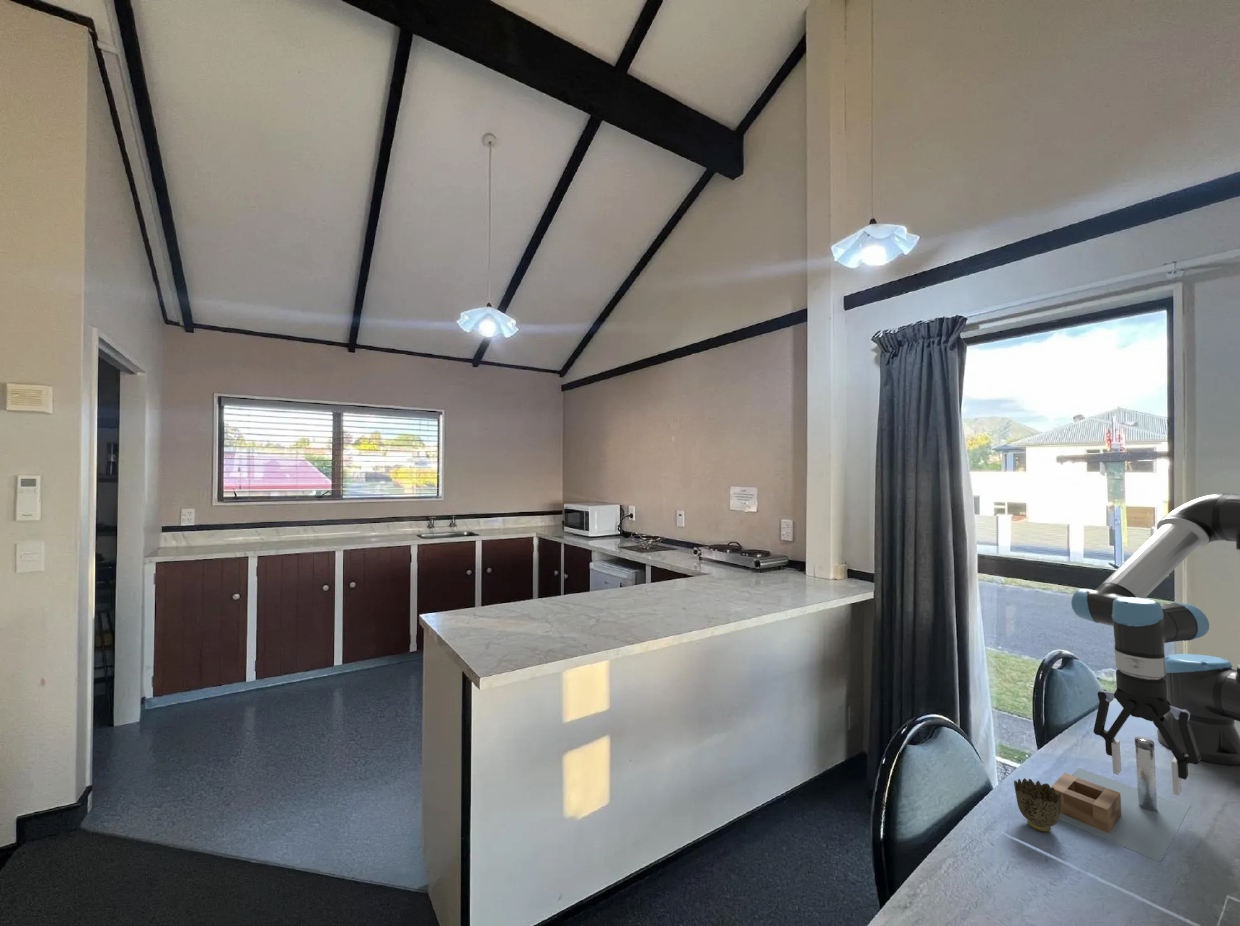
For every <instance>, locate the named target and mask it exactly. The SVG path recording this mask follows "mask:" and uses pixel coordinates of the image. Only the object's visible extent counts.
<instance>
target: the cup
mask: <svg viewBox="0 0 1240 926" xmlns="http://www.w3.org/2000/svg"><path fill="white" fill-rule="evenodd" d="M1013 785H1014V791H1015V796H1016V797H1015V798H1016V802H1017V806H1018V809H1019V811H1020V813H1021V814H1022V816H1023V818H1024V819H1026V821H1027V822H1026V823H1027V825H1028V826H1029V827H1030V828H1031V829H1032V830H1034V831H1035V832H1039V833H1041V834H1048V833H1050V832H1051V830H1052V827H1054V826H1055V825H1057V824H1058V822H1059V821H1060V820H1059V816H1060V808H1061V798H1062V796H1061V794H1060V793H1059V794H1058V795H1057V794H1056V793H1055V790H1054V788H1053V787H1052V788H1051V786H1050V784H1049V783H1046V782H1045V783H1042V784H1041V782H1040V780H1037V781H1036V782H1034V781H1033V780H1032V779H1031V778H1029V779H1026V777H1025V778H1023V779H1022V780H1021V779H1020V778H1018V780H1016V779H1015V780H1014V781H1013Z"/></svg>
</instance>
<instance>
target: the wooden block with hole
mask: <svg viewBox="0 0 1240 926" xmlns="http://www.w3.org/2000/svg"><path fill="white" fill-rule="evenodd" d="M1050 787H1051V788H1052V787H1053V788H1054V790H1055V793H1056V794H1057V795H1058V794H1059V793H1060V794H1061V796H1062V798H1061V808H1060V813H1061V814H1064V815H1066V816H1069V817H1071V818H1073V819H1076V820H1078V821H1081V822H1083V823H1085V824H1088V825H1090V826H1093V827H1095V828H1097V829H1100V830H1102V831H1105V832H1107V833H1109V832H1110V831H1111V829H1112V828H1113V826H1114V825H1115V824H1116V822H1117V821H1118V819H1119V818H1120V817H1121V796H1120V793H1119V792H1116V791H1114V790H1111V789H1108V788H1105V787H1103V786H1100V785H1097V784H1094V783H1092V782H1089V781H1086V780H1083V779H1080V778H1078V777H1075V776H1072V774H1068V773H1066V772H1064V773H1063V774H1062V775H1060V777H1059V778H1058V779H1057V780H1056V781H1055V782H1054V783H1053V784H1052V785H1051V786H1050Z"/></svg>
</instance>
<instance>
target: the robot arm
mask: <svg viewBox="0 0 1240 926" xmlns="http://www.w3.org/2000/svg"><path fill="white" fill-rule="evenodd" d="M1156 529H1157V530H1156V531H1155V532H1154V533H1153V534H1152V535H1151V536H1150V537H1149V538H1148V539H1147V540H1145V542H1144V543H1143V544H1142V545H1140V547H1139V548H1137V549H1136V550H1135V551H1134V552H1133V553H1132V554H1131V555H1130V556H1129V557H1128V558H1127V559H1126V560H1125V561H1124V562H1123V563H1122V564H1121V565H1120V566H1119V567H1117V569H1116V570H1114V571H1113V573H1112V574H1110V576H1108V577H1107V578H1106V579H1105V580H1104V581H1103V582H1102V583H1101V584H1100V585H1099V586H1098V587H1097V588H1096V589H1092V588H1080V589H1077V590H1076V591H1075V592H1074V593H1073V595H1072V598H1071V603H1070V604H1071V609H1072V611H1073V612H1074V614H1075V615H1076V616H1077V617H1079V618H1081V619H1083V620H1087V621H1088V622H1089V621H1090V622H1093V623H1096V624H1101V625H1106V626H1111V627H1113V637H1114V660H1115V661H1114V663H1115V666H1114V667H1116V669H1117V670H1115V681H1116V690H1115V691H1108V690H1107V689H1105V688H1102V689H1100V690H1099V691H1097V693H1096V694H1097V698H1098V702H1099V703H1098V707H1097V712H1096V716H1095V723H1094V726H1093V734H1095V735H1097V736H1099V737H1101V738H1102V739H1104V741H1105V742H1104V743H1105V753H1106V755H1108V756H1110V757H1111V759H1112V773H1113V774H1114V775H1117V776H1118V775H1119V774H1120V773H1121V772H1122V759H1121V757H1122V756H1121V741H1120V740H1119V739H1117V738H1116V736H1117V734H1118V733H1119V732H1120V730H1121V729H1122V727H1123V726H1124V725H1125V723H1126V722H1127V720H1128V718H1129V717H1130V716H1131V717H1133V718H1141V719H1143V720H1145V721H1149V722H1152V723H1153V725H1154V726H1155V727H1156V728H1157V731H1156V733H1157V735H1156V736H1157V741H1159V743H1161V744H1162V745H1163V746H1165V747H1166V748H1168V749H1169V750H1170V751H1171V753H1172V754H1173V756H1174V757H1173V759H1171V775H1172V778H1171V779H1172V792H1173V795H1175V796H1180V795H1181V792H1183V791H1182V780H1187V778H1188V777H1189V764H1193V765H1198V764H1199V763H1200V762H1201V761H1205V762H1209V763H1212V764H1213V763H1214V764H1219V765H1220V764H1221V765H1230V766H1240V734H1239V732H1238V729H1237V728H1236V724H1235V721H1237V722H1240V663H1237V665H1236V669H1235V668H1234V669H1233V665H1232V663H1231V662H1230V660H1229V659H1226V658H1223V657H1218V656H1213V655H1212V656H1211V655H1204V654H1195V653H1174V654H1169V655H1166V656H1165V644H1167V643H1174V642H1183V641H1184V642H1187V641H1192V640H1194V639H1195V640H1196V639H1199V638H1202V637H1204V636H1205V635H1206V634H1207V633H1208V632H1209V630H1210V622H1209V619H1208V617H1207V616H1206V614H1205V613H1204V612H1203V611H1202V610H1201V609H1200V608H1198V607H1196V606H1194V605H1192V604H1189V603H1181V602H1180V603H1178V602H1171V603H1162V602H1158V601H1155V600H1153V599H1149V598H1148V599H1147V597H1148V596H1149V595H1150V594H1151V593H1152V592H1153V591H1154V590H1155V589H1156V588H1157V587H1158V586H1159V585H1160V584H1161V583H1163V581H1165V579H1166V578H1167V577H1168V576H1169V575H1170V574H1171V573H1172V572H1173V571H1174V570H1175V569H1177V567H1178V566H1179V565H1180V564H1182V563H1183V561H1185V559H1187V558H1188V556H1189V555H1190V554H1191V553H1192V552H1193V551H1194V550H1200V549H1203V548H1205V547H1206V546H1207V545H1209V543H1212V542H1217V541H1218V542H1219V541H1226V542H1235V546H1236V548H1235V550H1236V551H1237V552H1238V553H1240V494H1239V493H1215V494H1214V493H1213V494H1207V495H1204V496H1201V497H1197V498H1195V499H1192V500H1190V501H1187V502H1185V503H1183V504H1181V505H1180V506H1177V507H1175V508H1174V509H1173V510H1171V511H1170V512H1168V513H1167V514H1166V515H1165V516H1163V517H1162V518H1161V519H1160V520H1159V521H1157V525H1156ZM1114 699H1115V700H1116V701H1117V702H1118V703H1119V705H1120V706H1121V707H1122V710H1121V711H1120V712H1119V715H1118V716H1117V717H1116V719H1115V720H1114V721H1113V723H1112V725H1111V726H1110V728H1109V729H1108V730H1106V729H1105V727H1106V723H1107V719H1108V718H1107V717H1108V713H1109V708H1110V703H1111V702H1112V701H1113V700H1114Z"/></svg>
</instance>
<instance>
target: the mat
mask: <svg viewBox="0 0 1240 926" xmlns="http://www.w3.org/2000/svg"><path fill="white" fill-rule="evenodd" d="M1071 775H1072V776H1075V777H1078V778H1080V779H1083V780H1086V781H1089V782H1092V783H1094V784H1097V785H1100V786H1103V787H1105V788H1108V789H1111V790H1114V791H1116V792H1119V793H1120V796H1121V817H1120V818H1119V819H1118V821H1117V822H1116V824H1115V825H1114V826H1113V828H1112V829H1111V831H1110V832H1109V833H1107V832H1105V831H1102V830H1100V829H1097V828H1095V827H1093V826H1090V825H1088V824H1085V823H1083V822H1081V821H1078V820H1076V819H1073V818H1071V817H1069V816H1066V815H1064V814H1061V813H1060V816H1059V820H1058V821H1062V822H1065V823H1067V824H1069V825H1071V826H1074V827H1076V828H1078V829H1081V830H1083V831H1086V832H1088V833H1090V834H1092V835H1095V836H1097V837H1100V838H1102V839H1105V840H1107V841H1109V842H1112V843H1114V844H1116V845H1118V846H1121V847H1123V848H1126V849H1127V850H1131V851H1133V852H1136V853H1137V854H1140V855H1142V856H1144V857H1147V858H1150V859H1151V860H1153V861H1156V862H1159V863H1161V862H1162V860H1163V859H1164V857H1165V855H1166V852H1167V850H1168V849H1169V847H1170V845H1171V844H1172V841H1173V839H1174V837H1175V835H1176V834H1177V832H1178V831H1179V828H1180V826H1181V825H1182V822H1184V821H1183V820H1184V819H1185V817H1186V815H1187V814H1188V812H1189V810H1190V806H1189V805H1186V804H1183V803H1180V802H1177V801H1174V800H1171V799H1169V798H1166V797H1162V796H1160V795H1157V811H1156V812H1152V811H1148V810H1145V809H1143V808H1141V807H1140V806H1139V805H1138V788H1137V787H1134V786H1131V785H1129V784H1126V783H1123V782H1120V781H1117V780H1115V779H1111V778H1108V777H1106V776H1102V775H1100V774H1097V773H1095V772H1091V771H1090V770H1089V771H1088V770H1085V769H1082V768H1080V767H1077V768H1076V770H1075V771H1074V772H1073V773H1072V774H1071ZM1158 799H1160V800H1158ZM1174 804H1177V805H1174Z"/></svg>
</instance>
